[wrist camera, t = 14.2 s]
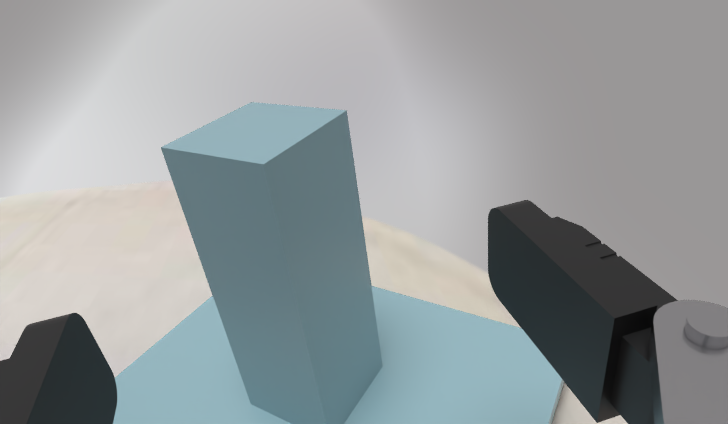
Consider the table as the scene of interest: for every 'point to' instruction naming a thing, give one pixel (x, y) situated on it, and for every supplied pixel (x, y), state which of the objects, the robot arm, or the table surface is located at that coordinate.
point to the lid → (312, 301)
